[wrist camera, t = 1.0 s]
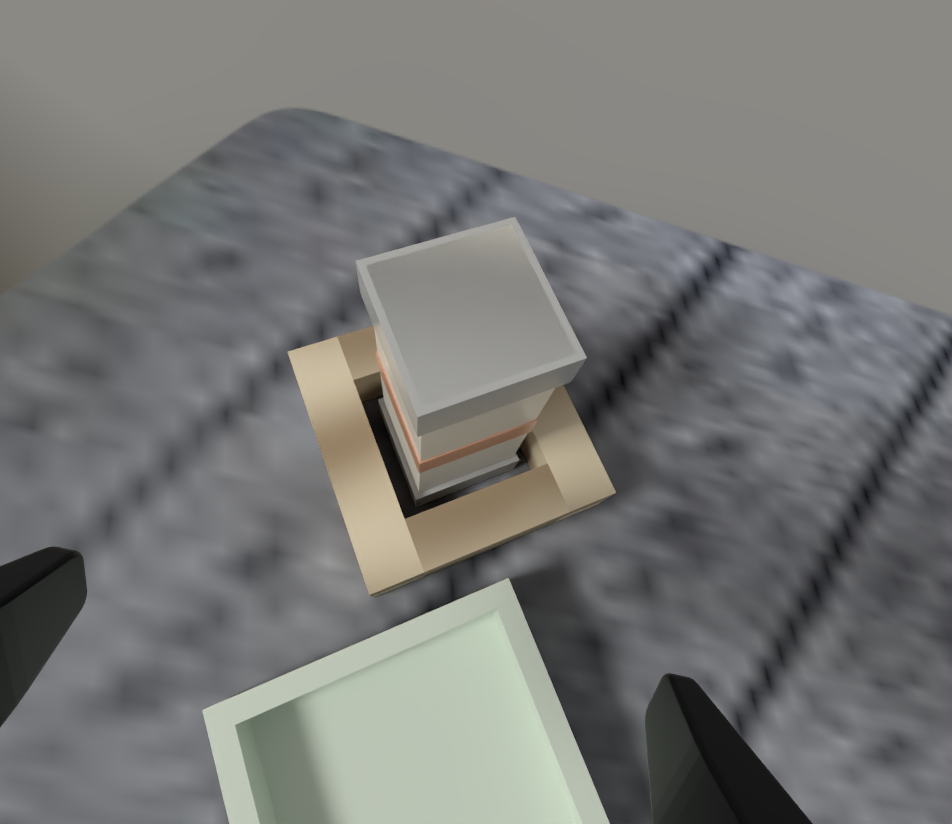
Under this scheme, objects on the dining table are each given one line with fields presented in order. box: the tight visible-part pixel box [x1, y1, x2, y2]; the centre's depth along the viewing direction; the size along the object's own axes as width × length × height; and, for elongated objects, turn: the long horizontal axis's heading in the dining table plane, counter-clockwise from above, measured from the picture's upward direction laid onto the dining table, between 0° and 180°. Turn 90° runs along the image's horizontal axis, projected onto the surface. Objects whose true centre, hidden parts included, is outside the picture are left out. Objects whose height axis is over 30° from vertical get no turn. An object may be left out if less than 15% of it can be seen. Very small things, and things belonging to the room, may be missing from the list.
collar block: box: [288, 326, 616, 597], centre depth 23 cm, size 10×10×2 cm
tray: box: [203, 578, 610, 824], centre depth 19 cm, size 11×11×2 cm
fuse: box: [355, 217, 587, 507], centre depth 19 cm, size 4×4×11 cm
